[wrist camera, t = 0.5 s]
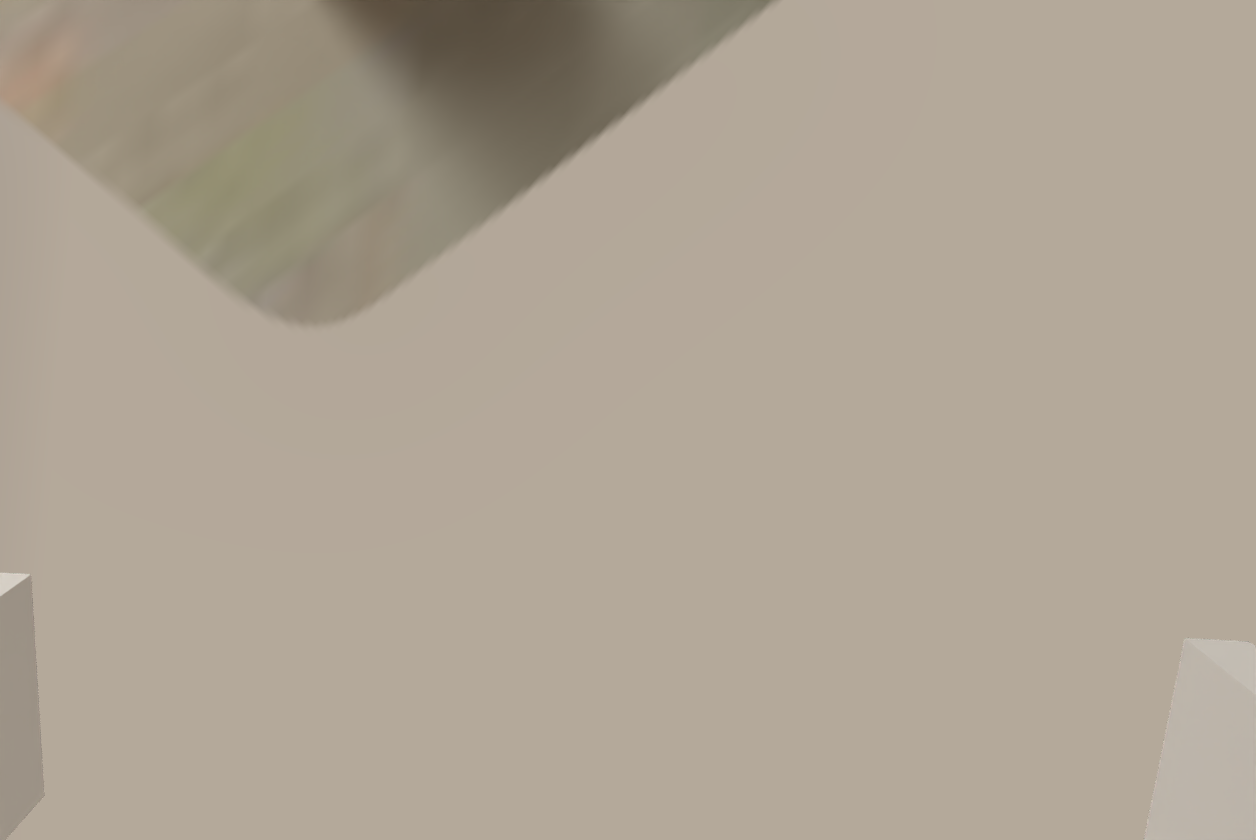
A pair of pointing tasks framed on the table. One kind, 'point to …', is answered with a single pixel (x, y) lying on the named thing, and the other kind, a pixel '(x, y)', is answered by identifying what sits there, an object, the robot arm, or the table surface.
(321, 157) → the table surface
